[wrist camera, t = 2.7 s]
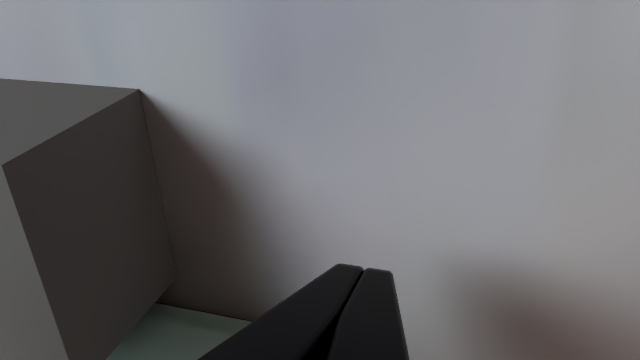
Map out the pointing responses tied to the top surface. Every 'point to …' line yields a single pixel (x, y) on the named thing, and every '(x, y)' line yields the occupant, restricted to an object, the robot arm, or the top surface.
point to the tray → (175, 334)
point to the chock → (76, 220)
